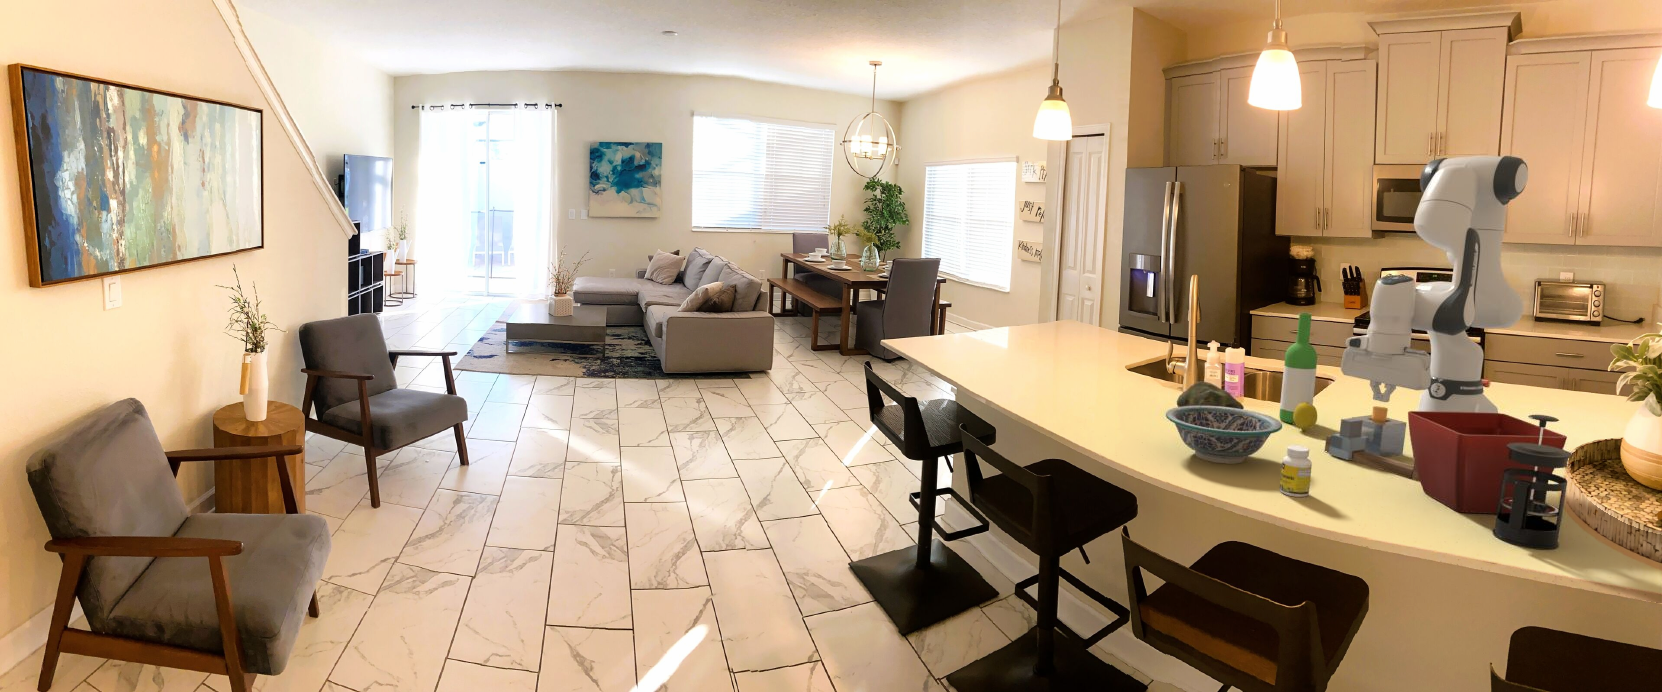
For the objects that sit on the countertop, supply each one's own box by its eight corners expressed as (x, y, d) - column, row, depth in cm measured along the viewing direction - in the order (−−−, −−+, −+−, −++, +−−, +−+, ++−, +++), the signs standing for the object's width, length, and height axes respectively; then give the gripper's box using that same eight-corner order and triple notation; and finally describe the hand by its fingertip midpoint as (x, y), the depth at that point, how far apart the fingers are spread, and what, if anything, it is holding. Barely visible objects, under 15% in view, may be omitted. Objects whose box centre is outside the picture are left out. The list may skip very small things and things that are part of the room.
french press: (1505, 525, 162) (1523, 406, 158) (1568, 541, 154) (1588, 417, 150) (1480, 538, 155) (1497, 415, 151) (1544, 556, 148) (1564, 427, 144)
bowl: (1269, 448, 211) (1273, 410, 209) (1286, 479, 188) (1291, 436, 186) (1161, 438, 219) (1164, 401, 217) (1164, 466, 196) (1167, 426, 194)
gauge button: (1376, 425, 209) (1378, 405, 208) (1388, 428, 206) (1390, 408, 205) (1367, 426, 208) (1370, 406, 207) (1379, 430, 205) (1381, 409, 204)
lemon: (1318, 434, 223) (1321, 404, 222) (1295, 433, 224) (1298, 403, 223) (1311, 428, 228) (1314, 399, 227) (1289, 427, 230) (1292, 398, 228)
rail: (1333, 450, 209) (1335, 434, 208) (1426, 478, 188) (1429, 461, 187) (1324, 451, 208) (1326, 435, 207) (1417, 480, 187) (1419, 462, 186)
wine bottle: (1293, 426, 231) (1304, 316, 226) (1272, 418, 239) (1282, 312, 233) (1317, 424, 233) (1329, 315, 228) (1295, 417, 240) (1306, 311, 235)
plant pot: (1396, 485, 184) (1405, 409, 181) (1491, 489, 182) (1502, 412, 179) (1450, 518, 165) (1461, 434, 162) (1557, 523, 163) (1570, 437, 160)
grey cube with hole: (1371, 445, 213) (1375, 414, 212) (1402, 454, 206) (1406, 422, 204) (1347, 449, 210) (1351, 417, 209) (1378, 458, 203) (1382, 425, 201)
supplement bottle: (1273, 489, 181) (1278, 444, 179) (1298, 488, 181) (1302, 444, 180) (1289, 498, 176) (1294, 452, 174) (1314, 497, 176) (1319, 451, 174)
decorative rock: (1216, 408, 250) (1219, 375, 248) (1249, 422, 235) (1252, 387, 233) (1168, 410, 248) (1171, 376, 246) (1198, 424, 233) (1201, 388, 231)
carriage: (1347, 451, 207) (1351, 416, 206) (1367, 457, 203) (1371, 421, 201) (1328, 454, 205) (1332, 418, 203) (1347, 459, 200) (1351, 423, 199)
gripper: (1441, 350, 195) (1433, 409, 197) (1358, 337, 214) (1351, 391, 216) (1422, 352, 193) (1414, 412, 195) (1339, 338, 211) (1333, 392, 214)
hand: (1380, 400), depth 206 cm, fingers closed
